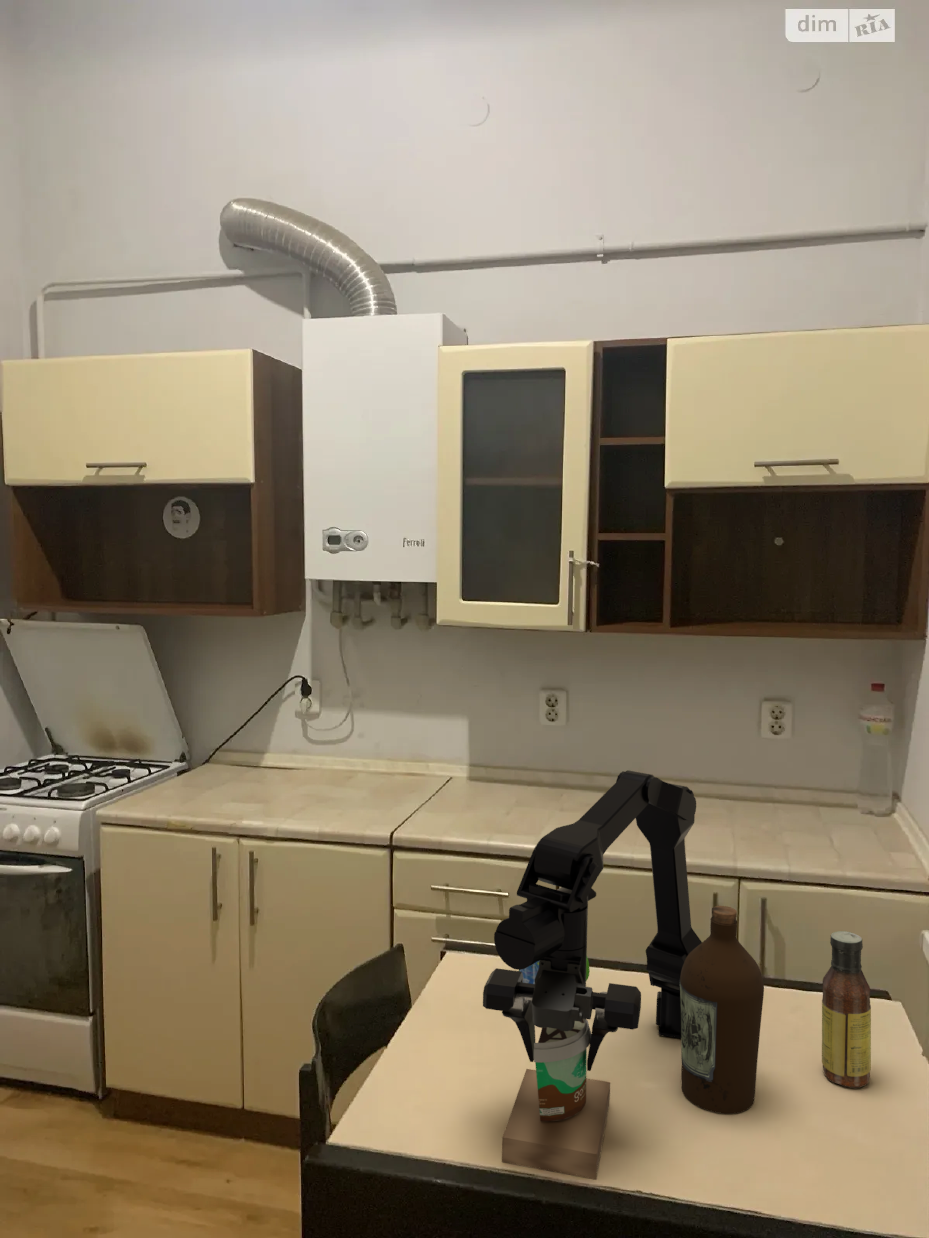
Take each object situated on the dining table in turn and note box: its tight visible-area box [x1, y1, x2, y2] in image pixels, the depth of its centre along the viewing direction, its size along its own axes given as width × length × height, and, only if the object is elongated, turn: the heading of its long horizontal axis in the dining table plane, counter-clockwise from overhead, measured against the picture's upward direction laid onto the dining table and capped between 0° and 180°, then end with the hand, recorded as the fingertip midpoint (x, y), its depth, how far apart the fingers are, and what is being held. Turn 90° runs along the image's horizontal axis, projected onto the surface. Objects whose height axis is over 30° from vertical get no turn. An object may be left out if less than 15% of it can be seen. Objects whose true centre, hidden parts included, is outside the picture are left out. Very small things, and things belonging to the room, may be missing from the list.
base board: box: [501, 1068, 611, 1180], centre depth 113 cm, size 11×15×3 cm
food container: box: [533, 1019, 592, 1121], centre depth 113 cm, size 12×6×10 cm, turn 166°
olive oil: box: [680, 905, 765, 1115], centre depth 121 cm, size 11×11×25 cm
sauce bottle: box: [821, 930, 872, 1089], centre depth 125 cm, size 6×6×20 cm
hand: (560, 1064), depth 112 cm, fingers open, 7 cm apart
